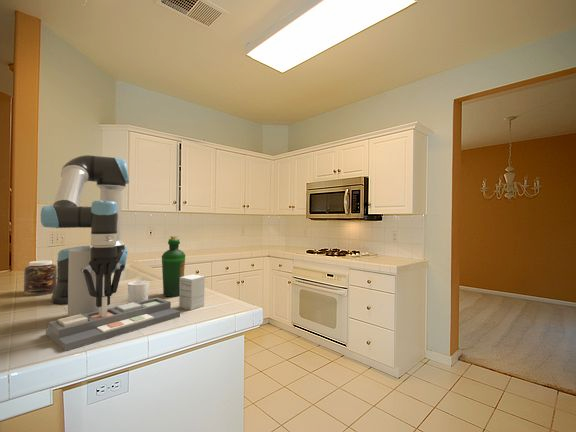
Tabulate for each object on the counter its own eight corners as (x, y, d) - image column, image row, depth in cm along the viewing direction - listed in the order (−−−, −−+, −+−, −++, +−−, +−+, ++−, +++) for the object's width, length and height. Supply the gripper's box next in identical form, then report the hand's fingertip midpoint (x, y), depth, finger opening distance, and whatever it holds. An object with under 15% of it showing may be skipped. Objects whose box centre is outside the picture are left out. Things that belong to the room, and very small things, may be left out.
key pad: (45, 334, 91) (46, 320, 91) (154, 307, 120) (154, 296, 120) (65, 351, 80) (65, 335, 80) (179, 316, 109) (179, 305, 109)
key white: (58, 324, 90) (58, 319, 90) (80, 319, 95) (80, 314, 95) (64, 329, 87) (64, 323, 87) (87, 323, 91) (87, 318, 91)
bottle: (189, 294, 140) (190, 236, 140) (170, 299, 131) (171, 237, 131) (175, 290, 146) (176, 235, 146) (156, 295, 137) (157, 236, 137)
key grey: (116, 310, 104) (116, 306, 104) (133, 306, 109) (133, 302, 109) (124, 314, 100) (124, 309, 100) (141, 309, 105) (141, 305, 105)
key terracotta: (89, 321, 97) (89, 316, 97) (108, 316, 102) (108, 312, 102) (96, 325, 93) (96, 320, 93) (116, 320, 98) (116, 315, 98)
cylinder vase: (101, 308, 117) (102, 246, 117) (113, 315, 109) (114, 249, 109) (63, 316, 107) (64, 249, 107) (73, 324, 99) (74, 252, 99)
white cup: (139, 310, 115) (140, 285, 115) (122, 308, 117) (123, 284, 117) (152, 304, 123) (153, 281, 123) (136, 303, 125) (137, 279, 125)
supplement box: (192, 302, 126) (193, 274, 126) (204, 305, 123) (205, 276, 123) (178, 307, 120) (179, 277, 120) (191, 310, 116) (191, 279, 116)
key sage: (140, 308, 111) (140, 304, 111) (155, 305, 116) (155, 301, 116) (148, 312, 107) (148, 307, 107) (163, 308, 112) (163, 304, 112)
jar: (51, 288, 146) (52, 258, 146) (59, 292, 139) (60, 261, 139) (20, 293, 137) (21, 261, 137) (27, 297, 130) (28, 264, 130)
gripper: (86, 248, 90) (84, 323, 90) (129, 245, 101) (128, 312, 101) (77, 246, 95) (76, 318, 95) (119, 244, 105) (118, 308, 105)
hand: (102, 315), depth 98 cm, fingers closed
